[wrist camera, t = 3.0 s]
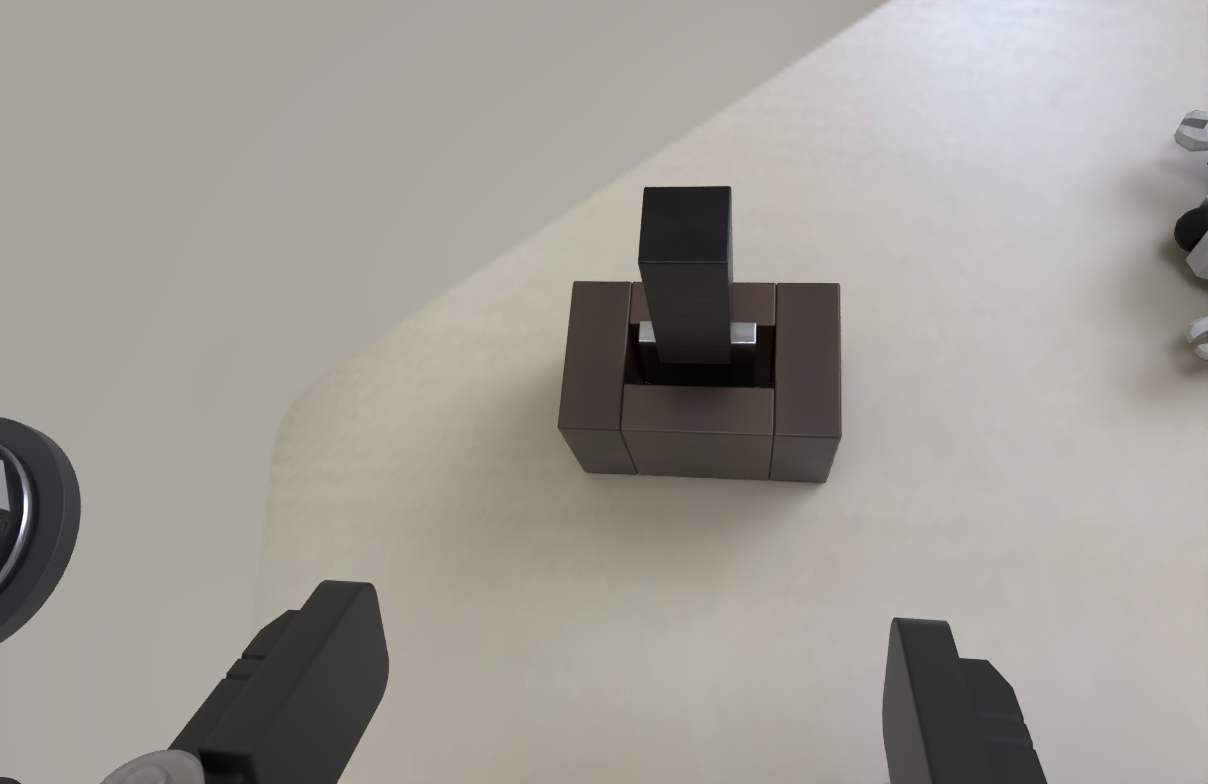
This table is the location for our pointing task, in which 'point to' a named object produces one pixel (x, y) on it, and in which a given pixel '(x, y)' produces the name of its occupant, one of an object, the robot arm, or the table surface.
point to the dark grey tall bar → (691, 291)
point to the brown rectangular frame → (705, 390)
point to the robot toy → (1195, 220)
